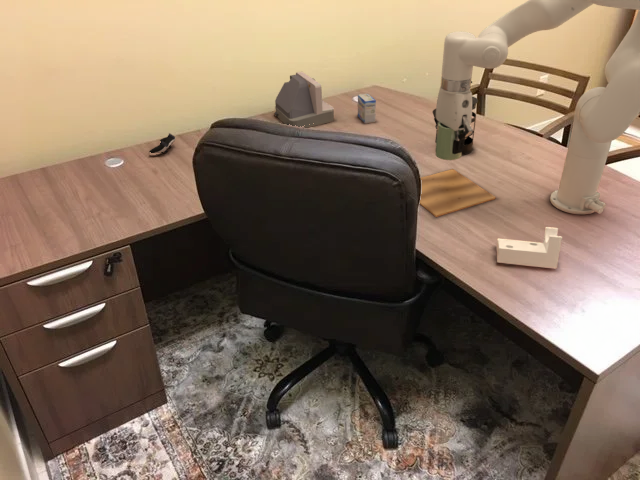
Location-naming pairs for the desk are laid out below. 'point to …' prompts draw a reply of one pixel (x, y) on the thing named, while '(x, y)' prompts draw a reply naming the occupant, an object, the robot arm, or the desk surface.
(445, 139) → the pot
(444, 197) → the mat
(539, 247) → the bracket
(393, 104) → the desk surface
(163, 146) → the black shoe
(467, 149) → the french press
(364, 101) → the medicine box
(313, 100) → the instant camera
